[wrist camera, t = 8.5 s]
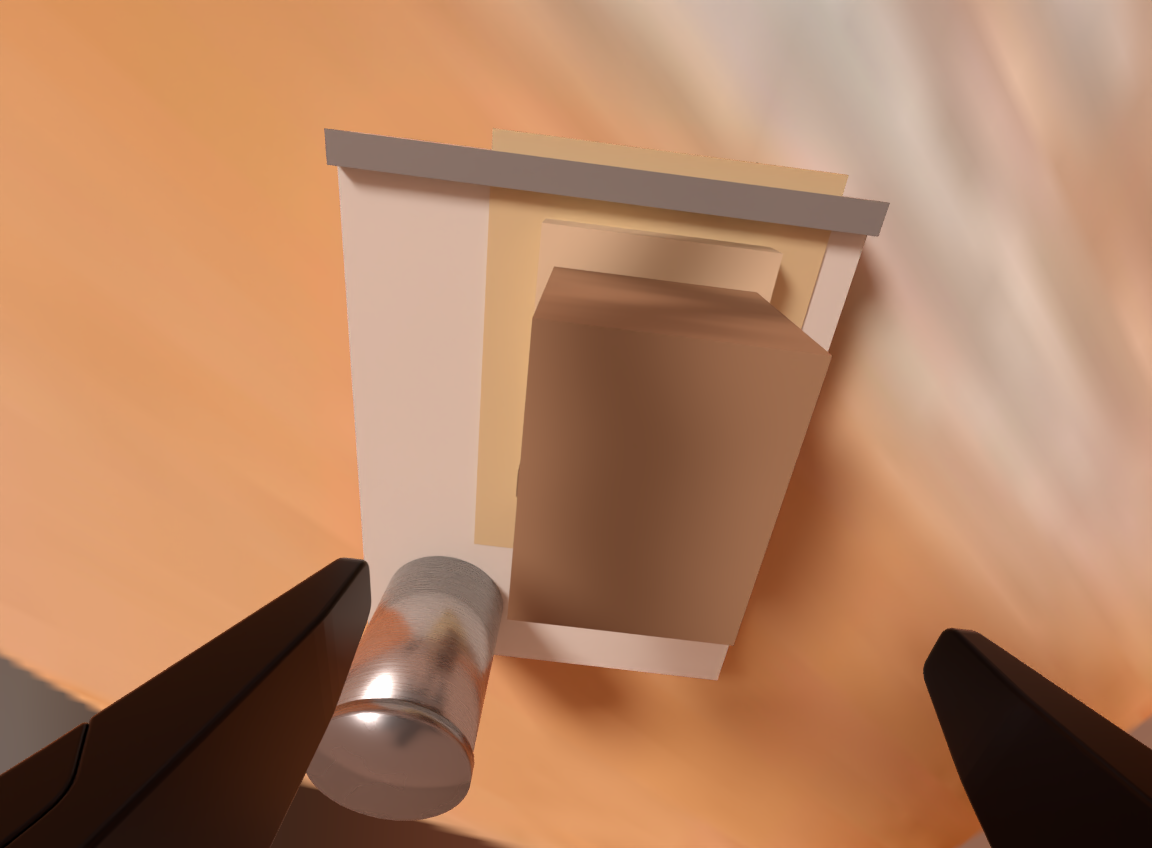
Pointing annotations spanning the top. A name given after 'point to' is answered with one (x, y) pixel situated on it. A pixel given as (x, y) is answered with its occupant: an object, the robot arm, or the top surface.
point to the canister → (414, 695)
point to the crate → (655, 431)
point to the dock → (528, 327)
